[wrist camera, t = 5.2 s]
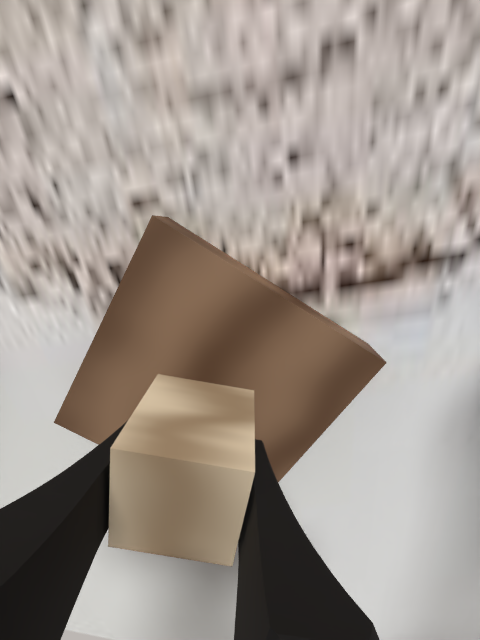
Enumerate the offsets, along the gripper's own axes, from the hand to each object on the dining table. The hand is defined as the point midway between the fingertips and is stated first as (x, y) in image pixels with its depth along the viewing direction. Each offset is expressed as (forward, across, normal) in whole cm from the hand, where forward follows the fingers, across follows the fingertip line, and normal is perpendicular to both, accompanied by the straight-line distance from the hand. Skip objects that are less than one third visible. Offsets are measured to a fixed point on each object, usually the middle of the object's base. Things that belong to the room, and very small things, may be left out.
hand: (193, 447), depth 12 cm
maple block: (+2, 0, 0) cm, 2 cm away
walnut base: (+6, 0, 0) cm, 6 cm away
